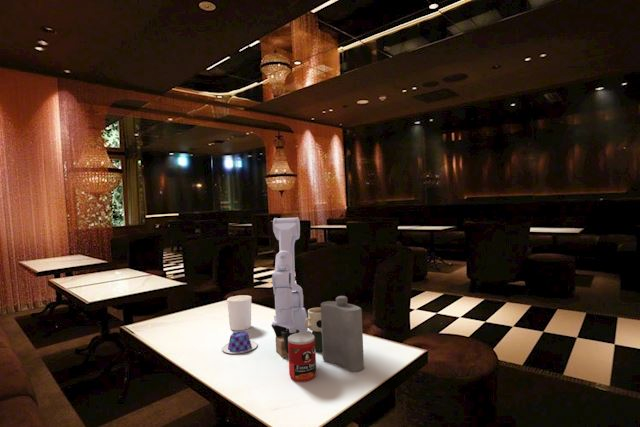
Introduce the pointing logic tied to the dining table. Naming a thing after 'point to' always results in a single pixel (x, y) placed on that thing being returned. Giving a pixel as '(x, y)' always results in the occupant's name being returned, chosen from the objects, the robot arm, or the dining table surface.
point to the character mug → (315, 326)
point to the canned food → (302, 356)
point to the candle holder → (239, 312)
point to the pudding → (239, 343)
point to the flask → (342, 334)
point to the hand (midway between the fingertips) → (285, 348)
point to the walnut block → (281, 346)
